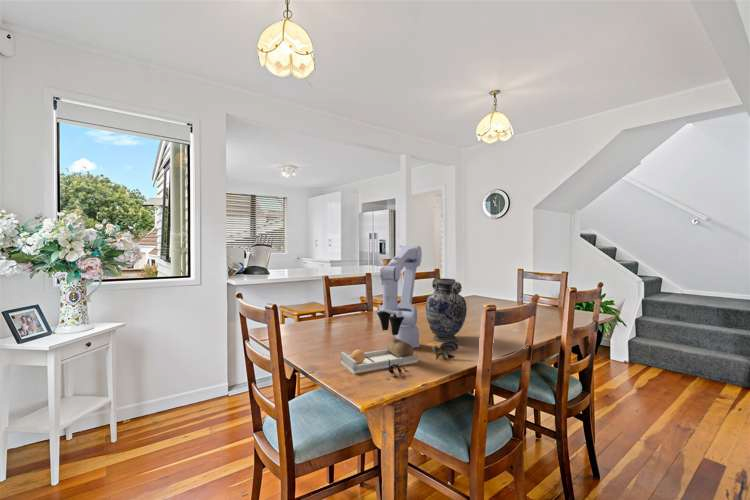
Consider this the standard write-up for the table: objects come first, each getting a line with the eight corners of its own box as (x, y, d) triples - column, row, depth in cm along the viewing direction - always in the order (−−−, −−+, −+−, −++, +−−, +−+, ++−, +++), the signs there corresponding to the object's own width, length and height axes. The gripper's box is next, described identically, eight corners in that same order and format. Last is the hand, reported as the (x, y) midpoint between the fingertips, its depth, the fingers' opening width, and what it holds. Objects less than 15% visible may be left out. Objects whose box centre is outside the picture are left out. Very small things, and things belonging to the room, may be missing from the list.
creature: (407, 374, 124) (385, 369, 124) (410, 359, 124) (388, 354, 123) (410, 383, 116) (387, 378, 116) (414, 367, 116) (391, 362, 116)
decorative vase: (415, 335, 170) (417, 277, 169) (447, 332, 178) (449, 276, 177) (442, 348, 150) (443, 282, 150) (476, 343, 158) (478, 281, 157)
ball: (362, 359, 132) (360, 346, 131) (368, 363, 127) (366, 350, 127) (350, 363, 130) (348, 350, 129) (355, 367, 125) (353, 353, 125)
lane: (400, 353, 144) (401, 343, 143) (417, 362, 133) (417, 351, 133) (341, 363, 132) (341, 352, 132) (353, 373, 121) (353, 362, 121)
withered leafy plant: (446, 360, 131) (462, 352, 136) (437, 343, 134) (453, 335, 139) (435, 366, 137) (451, 357, 142) (426, 349, 139) (442, 341, 144)
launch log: (400, 351, 142) (400, 337, 142) (413, 359, 133) (413, 343, 133) (387, 354, 139) (387, 338, 139) (399, 361, 131) (399, 345, 131)
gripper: (372, 295, 140) (372, 329, 141) (390, 300, 127) (390, 338, 128) (387, 293, 144) (387, 327, 144) (407, 299, 131) (407, 335, 131)
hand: (390, 332), depth 136 cm, fingers open, 7 cm apart
